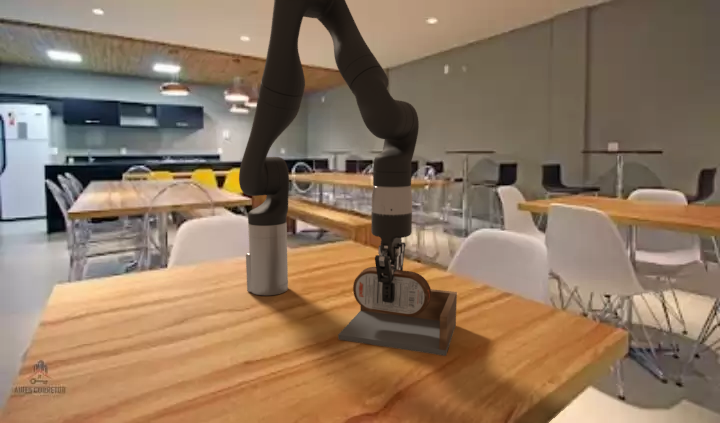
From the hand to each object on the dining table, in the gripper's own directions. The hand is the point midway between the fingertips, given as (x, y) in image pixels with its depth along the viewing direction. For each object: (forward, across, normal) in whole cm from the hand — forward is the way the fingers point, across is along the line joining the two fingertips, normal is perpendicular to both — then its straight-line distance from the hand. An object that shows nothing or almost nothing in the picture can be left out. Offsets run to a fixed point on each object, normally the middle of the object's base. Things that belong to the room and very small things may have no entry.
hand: (390, 298), depth 85 cm
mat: (+7, +1, -2) cm, 7 cm away
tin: (+3, 0, 0) cm, 3 cm away
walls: (+7, +1, -2) cm, 7 cm away
